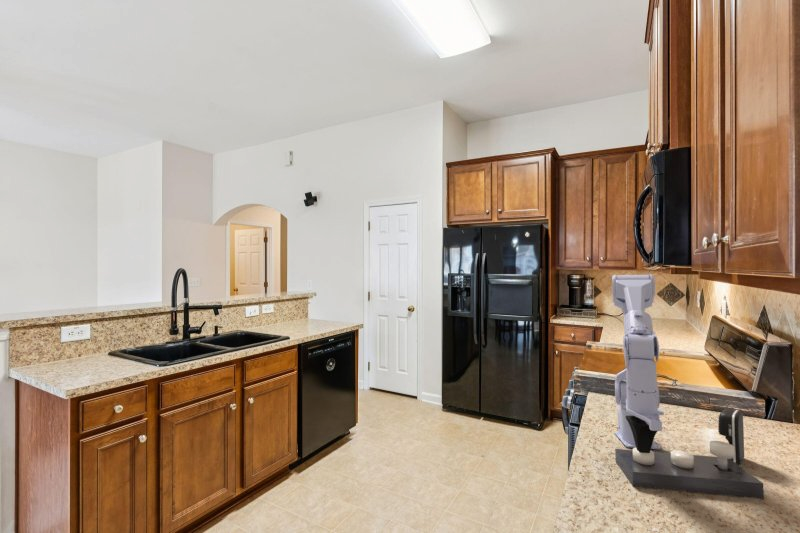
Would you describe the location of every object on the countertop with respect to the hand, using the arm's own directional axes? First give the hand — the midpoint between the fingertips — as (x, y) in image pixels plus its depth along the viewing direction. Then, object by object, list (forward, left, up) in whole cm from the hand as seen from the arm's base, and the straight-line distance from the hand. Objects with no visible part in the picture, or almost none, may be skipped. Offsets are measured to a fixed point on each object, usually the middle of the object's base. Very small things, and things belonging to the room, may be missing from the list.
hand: (643, 451), depth 85 cm
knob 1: (0, 0, -5) cm, 5 cm away
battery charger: (-12, +23, -5) cm, 26 cm away
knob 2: (0, +15, -2) cm, 15 cm away
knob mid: (0, +8, -5) cm, 9 cm away
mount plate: (0, +8, -5) cm, 9 cm away
